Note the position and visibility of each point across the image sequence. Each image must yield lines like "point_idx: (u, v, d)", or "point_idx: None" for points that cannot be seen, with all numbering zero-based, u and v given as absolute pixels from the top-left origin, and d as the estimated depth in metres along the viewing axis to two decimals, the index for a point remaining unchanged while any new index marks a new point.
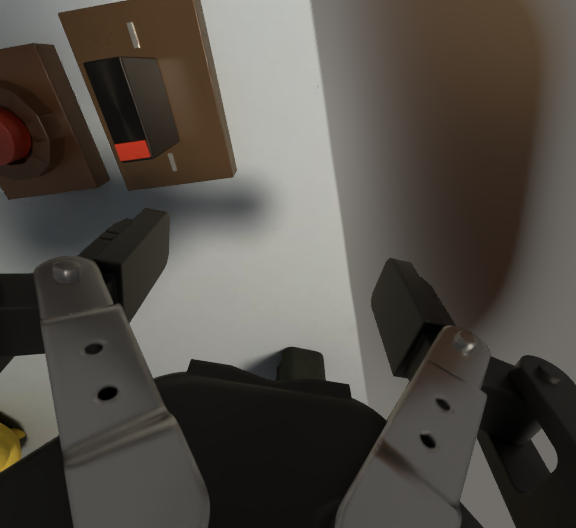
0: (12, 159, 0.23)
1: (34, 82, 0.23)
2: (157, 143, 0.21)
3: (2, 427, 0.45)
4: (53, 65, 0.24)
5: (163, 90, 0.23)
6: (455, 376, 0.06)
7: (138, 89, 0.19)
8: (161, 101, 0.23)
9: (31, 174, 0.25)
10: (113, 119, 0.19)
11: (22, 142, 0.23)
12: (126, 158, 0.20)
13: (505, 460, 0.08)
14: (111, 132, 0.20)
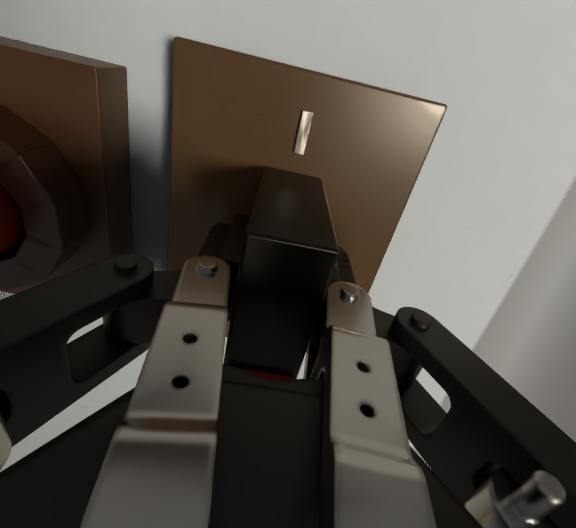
0: None
1: (67, 131, 0.11)
2: None
3: None
4: (115, 108, 0.12)
5: None
6: (360, 334, 0.07)
7: None
8: None
9: None
10: (249, 334, 0.09)
11: (2, 243, 0.11)
12: None
13: (404, 408, 0.09)
14: (230, 349, 0.09)
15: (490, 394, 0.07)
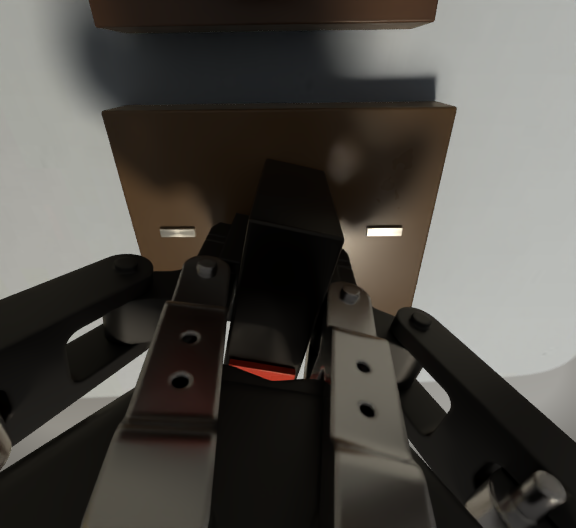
0: None
1: None
2: None
3: None
4: (381, 26, 0.11)
5: None
6: (360, 334, 0.07)
7: None
8: None
9: None
10: (251, 325, 0.09)
11: None
12: None
13: (404, 408, 0.09)
14: (232, 341, 0.09)
15: (490, 394, 0.07)
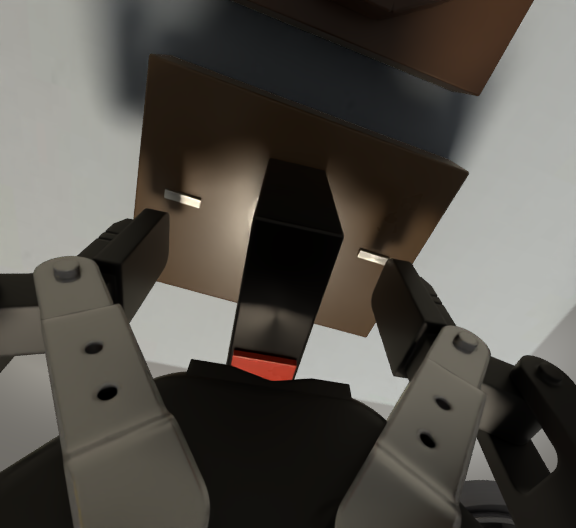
0: None
1: (440, 31, 0.10)
2: None
3: None
4: (432, 81, 0.12)
5: None
6: (455, 376, 0.06)
7: None
8: None
9: None
10: (255, 317, 0.09)
11: None
12: None
13: (505, 460, 0.08)
14: (236, 333, 0.09)
15: None
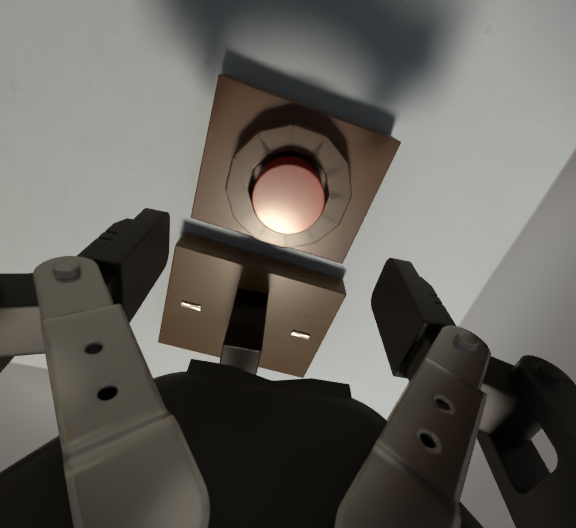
0: (253, 206, 0.16)
1: None
2: None
3: None
4: None
5: None
6: (455, 376, 0.06)
7: None
8: None
9: (231, 186, 0.17)
10: None
11: None
12: None
13: (505, 460, 0.08)
14: None
15: None
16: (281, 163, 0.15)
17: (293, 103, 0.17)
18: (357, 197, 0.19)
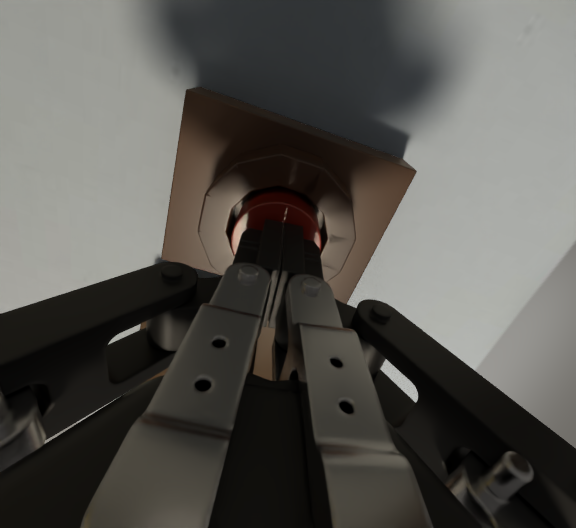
0: None
1: None
2: None
3: None
4: None
5: None
6: (328, 328, 0.07)
7: None
8: None
9: (205, 228, 0.14)
10: None
11: None
12: None
13: None
14: None
15: (454, 380, 0.07)
16: (266, 200, 0.12)
17: (281, 125, 0.13)
18: (362, 235, 0.16)
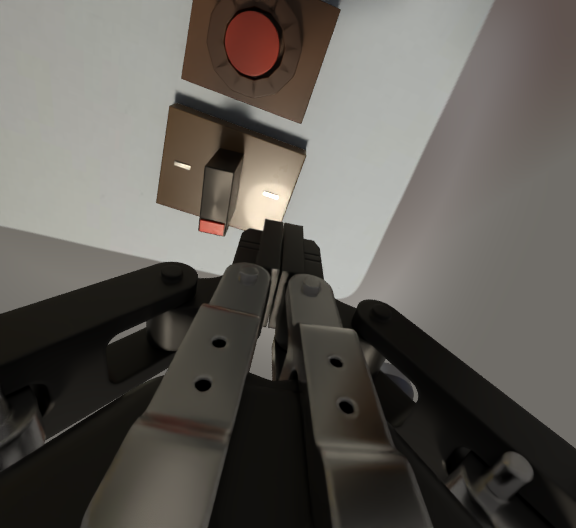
0: (226, 50, 0.22)
1: (280, 100, 0.26)
2: (228, 223, 0.28)
3: None
4: None
5: (240, 176, 0.29)
6: (329, 328, 0.07)
7: (233, 189, 0.26)
8: (237, 186, 0.29)
9: (211, 39, 0.23)
10: (208, 204, 0.26)
11: None
12: (204, 230, 0.27)
13: None
14: (201, 211, 0.26)
15: (454, 380, 0.07)
16: (246, 11, 0.21)
17: None
18: (310, 60, 0.25)
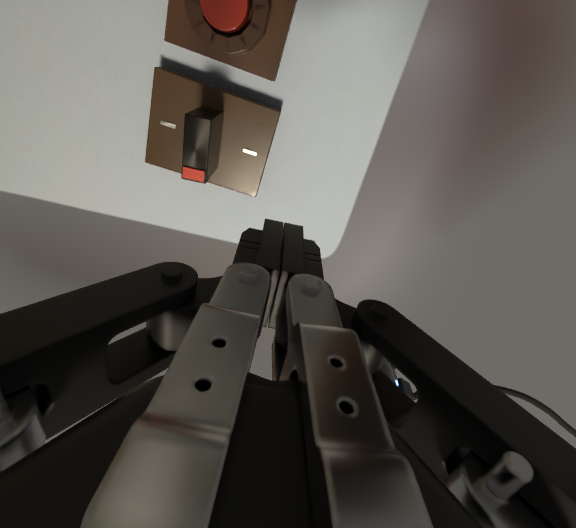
0: (201, 8, 0.25)
1: (254, 58, 0.29)
2: (209, 172, 0.30)
3: None
4: None
5: (220, 133, 0.32)
6: (329, 328, 0.07)
7: (212, 138, 0.29)
8: (218, 141, 0.32)
9: None
10: (189, 151, 0.28)
11: None
12: (186, 177, 0.29)
13: None
14: (183, 158, 0.29)
15: (454, 380, 0.07)
16: None
17: None
18: (278, 20, 0.28)
